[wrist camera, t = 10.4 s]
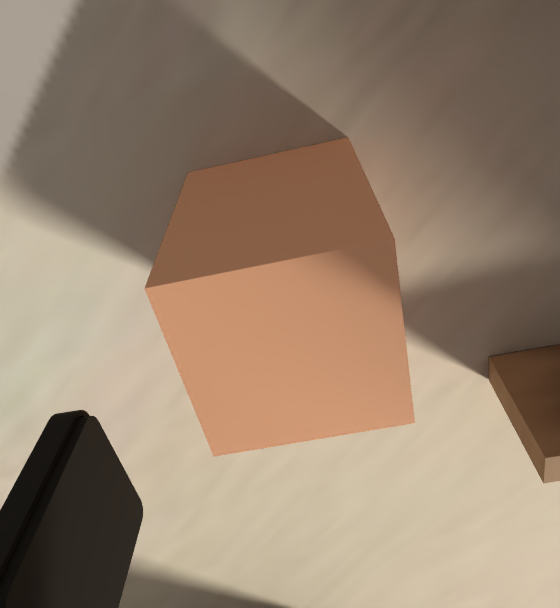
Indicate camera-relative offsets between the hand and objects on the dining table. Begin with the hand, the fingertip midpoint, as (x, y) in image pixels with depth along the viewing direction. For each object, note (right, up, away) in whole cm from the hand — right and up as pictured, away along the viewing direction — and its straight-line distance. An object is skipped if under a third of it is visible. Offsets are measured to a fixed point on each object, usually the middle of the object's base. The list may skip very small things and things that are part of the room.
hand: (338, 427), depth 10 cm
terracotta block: (-1, +5, +7) cm, 9 cm away
